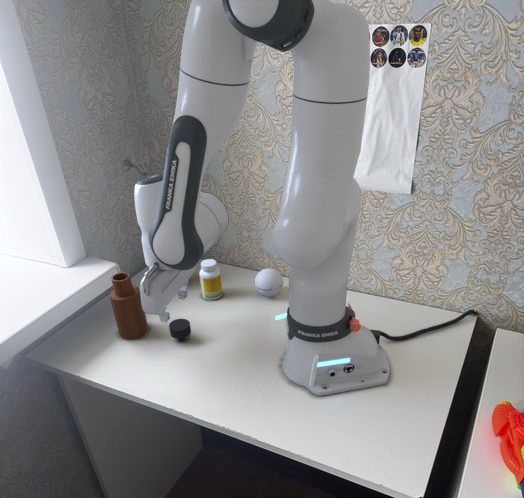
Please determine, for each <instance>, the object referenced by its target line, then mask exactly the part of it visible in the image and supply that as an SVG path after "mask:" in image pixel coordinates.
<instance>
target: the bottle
mask: <svg viewBox="0 0 524 498" xmlns="http://www.w3.org/2000/svg"><path fill="white" fill-rule="evenodd" d="M110 280H111V284H112V287H113V288H112V289H111V290H109V293H108V297H109V301H110V305H111V308H112V312H113V315H114V318H115V323H116V327H117V330H118V334H119V336H120V337H121V338H122V339H123V340H127V341H133V340H138V339H141V338H143V337H144V336H146V335H147V334H148V333H149V325H148V321H147V316H146V313H145V312H144V311H143V309H142V304H141V295H140V286H139V287H138V286H137V285H135V284H133V283H132V278H131V274H129V273H128V272H125V271H122V272H118V273H115V274H113V275H112V276H111V277H110Z"/></svg>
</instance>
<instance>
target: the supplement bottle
mask: <svg viewBox="0 0 524 498" xmlns="http://www.w3.org/2000/svg"><path fill="white" fill-rule="evenodd" d="M198 274H199V283H200V290H201V297H202V298H203V299H205V300H208V301H214V300H218V299H220V298H221V297H222V295H223V285H222V276H221V274H222V273H221V270H220V268H219V267H218V262H217V260H215V259H214V258H207V259H204V260H202V261H201V262H200V270H199V273H198Z"/></svg>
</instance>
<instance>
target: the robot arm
mask: <svg viewBox="0 0 524 498" xmlns="http://www.w3.org/2000/svg"><path fill="white" fill-rule="evenodd" d="M370 38H371V37H370V25H369V22H368V20H367V17H366V16H365V14H364V13H363V12H362V11H360V10H359V9H358V8H356V7H354V6H352V5H349V4H346V3H341V2H333V1H330V0H191V1H190V4H189V8H188V12H187V16H186V21H185V26H184V30H183V37H182V43H181V50H180V51H181V52H180V62H179V75H178V86H177V94H176V95H177V97H176V103H175V109H174V110H175V111H174V116H173V121H172V125H171V130H170V135H169V138H168V144H167V150H166V154H165V162H164V169H163V171H156V172H152V173H149V174H147V175H145V176H143V177H141V178H140V179H139V180H137V182H136V183H135V185H134V190H133V198H134V199H133V201H134V208H135V214H136V220H137V224H138V226H139V228H140V230H141V247H142V252H143V258H144V262H145V265H146V266H147V267H148V268H149V269H148V270H146V271H145V273H144V275H143V277H142V278H141V281H140V285H139V289H140V295H141V304H142V309H143V311H144V312H145V314H148V315H155V316H158V317H159V321H160V322H161V323H168V322H169V320H170V319H171V314H170V312H169V311H166V310H167V306H168V305H169V304H170V303H171V301H172V300H173V299H174V298H175V296H176V295H177V298H178V299H179V300H183V301H184V300H186V298H187V297H188V296H189V294H188V288H189V282H190V281H189V279H190V278H191V277H192V275H194V273H195V272H196V269H197V264H198V263H199V262H200V260H201V259H202V257H203V256H204V255H205V254H206V252H208V251H209V250H210V248H212V246H213V245H214V244H215V243H216V242H217V241H218V240H219V239H220V238H221V237H222V236H223V235H224V233H226V231H227V230H228V227H229V225H230V216H229V212H228V209H227V207H226V205H225V204H224V202H223V201H222V200H221V199H220V198H219V197H218V196H216V195H215V194H214V193H211V192H207V191H202V186H203V179H204V175H205V172H206V169H207V167H208V165H209V162H210V161H211V159H212V158H213V156H214V154H216V152H217V151H218V149H219V148H220V146H221V145H222V144H223V143H224V141H225V140H226V139H227V138H228V137H229V136H230V135H231V134H232V133H233V132H234V130H235V129H236V128H237V127H238V125H239V124H240V121H241V119H242V117H243V113H244V110H245V107H246V104H247V101H248V96H249V89H250V83H251V82H250V81H251V77H252V70H253V69H252V68H253V62H254V58H255V57H254V56H255V53H256V50H257V48H258V46H259V44H260V43H261V44H263V45H264V46H265V45H266V46H268V47H270V48H272V49H274V50H275V51H279V52H281V53H286V52H290V54H291V57H292V61H293V85H292V86H293V87H292V108H291V132H290V147H289V153H288V160H287V164H286V165H287V166H286V170H285V175H284V180H283V185H282V191H281V195H280V202H279V208H278V213H277V217H276V220H275V224H274V227H273V230H272V234H271V243H272V247H273V249H274V252H275V254H276V255H277V257H278V258H279V259H280V260H281V261H282V262H283V263H284V264H285V265H287V266H288V267H290V269H289V273H288V307H287V310H286V312H285V313H281V314H278V315H275V316H274V318H275V319H274V320H275V321H278V320H282V319H285V318H286V319H285V320H286V321H285V323H286V324H285V326H286V334H287V343H286V349H285V353H284V357H283V359H282V362H281V369H282V371H283V374H284V375H285V376H286V377H287V379H288V380H289V381H291V382H292V383H295V384H296V385H298V386H300V387H304V388H306V389H307V390H309V392H311V393H312V394H314V395H316V396H319V397H322V396H323V397H324V396H328V395H333V394H338V393H343V392H344V393H345V392H350V391H355V390H360V389H361V390H362V389H366V388H372V387H377V386H382V385H386V383H387V382H388V381H389V378H390V372H391V371H390V367H391V366H390V362H389V359H388V356H387V354H386V352H385V350H384V349H383V348H382V347H381V346H380V341H381V337H383V338H385V339H386V340H389V341H393V342H396V341H397V342H399V341H405V340H409V339H411V338H414V337H417V336H419V335H423V334H426V333H429V332H433V331H436V330H439V329H444V328H446V327H449V326H452V325H455V324H457V323H459V322H461V321H462V320H464V319H465V318H467V316H469V315H471V314H472V315H474V316H475V315H476V316H477V315H479V312H478V311H477V310H476V312H475V311H474V310H475V309H469V310H467V311H465V312H463V313H462V314H461V315H459V316H457V317H456V318H454V319H451V320H448V321H446V322H443V323H439V324H436V325H433V326H429V327H426V328H422V329H419V330H416V331H414V332H411V333H408V334H404V335H399V336H393V335H390V334H388V333H386V332H384V331H381V330H380V329H379V330H378V329H371V328H370V329H369V328H368V327H366V326H364V325H362V324H360V320H359V319H357V318H356V313H355V311H354V310H353V307H352V305H351V304H350V302H348V303H347V293H348V281H349V274H350V268H351V263H352V258H353V255H354V254H353V252H354V248H355V242H356V235H357V230H358V223H359V217H360V209H361V204H362V190H361V187H360V184H359V183H358V181H357V180H356V178H355V172H356V168H357V164H358V161H359V158H360V155H361V150H362V141H363V135H364V126H365V120H366V112H367V111H366V110H367V102H368V95H369V87H370V85H369V84H370V75H371V74H370V72H371V40H370ZM347 305H348V306H347Z"/></svg>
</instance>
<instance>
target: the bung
mask: <svg viewBox="0 0 524 498" xmlns="http://www.w3.org/2000/svg"><path fill="white" fill-rule="evenodd" d="M191 327H192V326H191V322H190V321H189V319H186V318H176V319H173V320H172V321H170V322H169V324H168V330H169V334H170V337H172V338H173V339H176V340H177V341H178V342H180V343H181V342H185V341H186V340H187V338H188V337H189V336H190V335H191V334H192V328H191Z"/></svg>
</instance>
